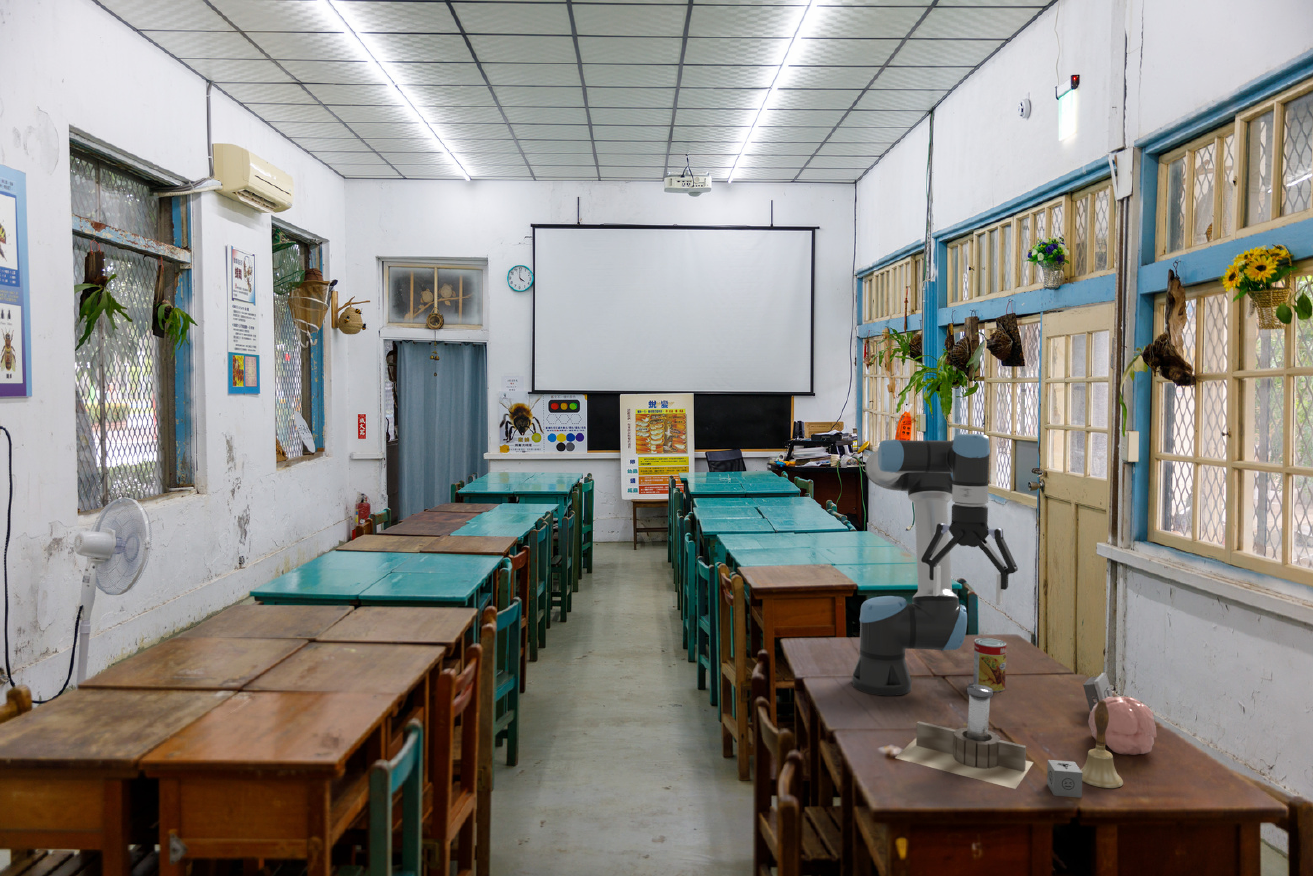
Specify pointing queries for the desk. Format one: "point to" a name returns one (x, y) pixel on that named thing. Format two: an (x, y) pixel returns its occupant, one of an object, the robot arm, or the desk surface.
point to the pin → (978, 712)
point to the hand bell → (1101, 755)
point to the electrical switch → (1097, 689)
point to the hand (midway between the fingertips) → (967, 599)
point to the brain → (1127, 726)
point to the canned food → (990, 663)
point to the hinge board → (961, 769)
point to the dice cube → (1064, 778)
